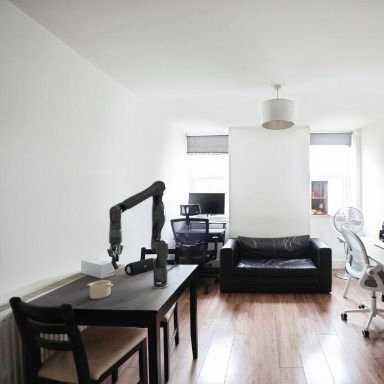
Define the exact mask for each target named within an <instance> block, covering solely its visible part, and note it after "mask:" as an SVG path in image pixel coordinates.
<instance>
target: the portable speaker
mask: <svg viewBox="0 0 384 384" xmlns="http://www.w3.org/2000/svg"><path fill="white" fill-rule="evenodd" d="M154 258H155V257H147V258H144V259H141V260H136V261H132V262H129V263H126V264H127V265H126V266H124V273H125V274H126V276H136V275H138V274H142V273H145V272H149V271H152V270H153V259H154Z"/></svg>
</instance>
